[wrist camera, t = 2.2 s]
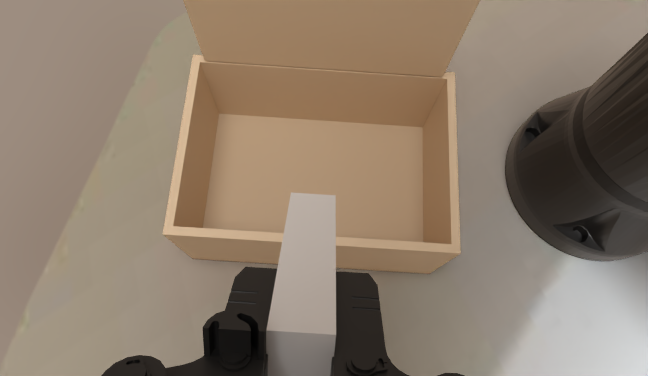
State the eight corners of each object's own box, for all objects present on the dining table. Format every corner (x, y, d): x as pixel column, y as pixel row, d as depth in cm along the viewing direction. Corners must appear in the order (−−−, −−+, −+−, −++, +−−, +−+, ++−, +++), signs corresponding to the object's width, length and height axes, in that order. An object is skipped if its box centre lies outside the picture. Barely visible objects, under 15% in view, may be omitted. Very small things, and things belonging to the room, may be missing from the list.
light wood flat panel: (442, 69, 37) (502, -57, 26) (442, 77, 37) (502, -46, 25) (205, 53, 37) (160, -81, 25) (204, 61, 37) (157, -71, 25)
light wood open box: (427, 124, 46) (454, 72, 37) (429, 274, 41) (460, 253, 33) (214, 110, 45) (193, 54, 37) (192, 258, 41) (162, 234, 32)
